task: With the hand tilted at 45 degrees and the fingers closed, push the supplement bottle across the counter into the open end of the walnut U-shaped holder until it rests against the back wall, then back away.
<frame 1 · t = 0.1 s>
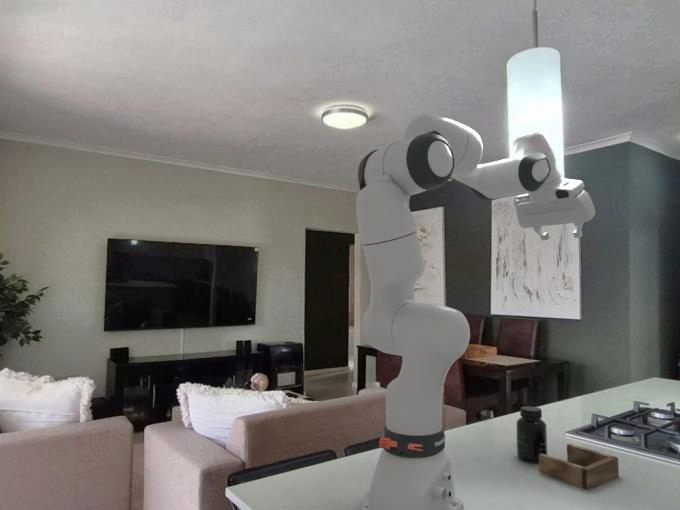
hand: (561, 238, 132), 54 cm above the counter, tool tilted 30°, fingers open, 8 cm apart
walnut holder: (580, 474, 108), on the counter
supplement bottle: (532, 459, 118), on the counter
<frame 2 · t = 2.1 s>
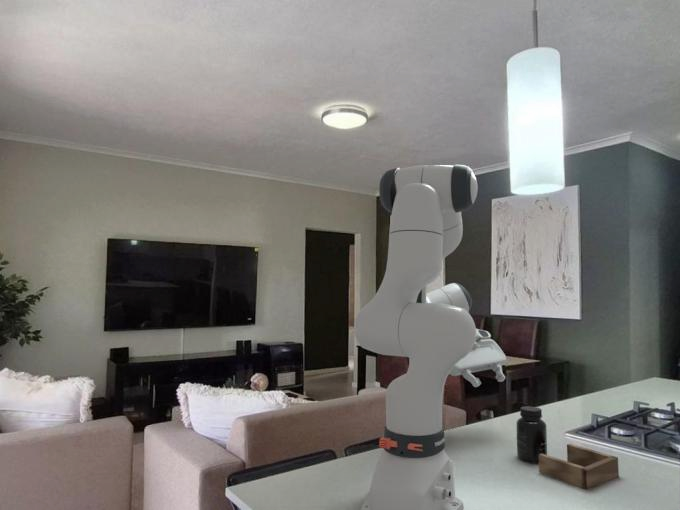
hand: (490, 382, 130), 16 cm above the counter, tool tilted 45°, fingers open, 8 cm apart
nothing on the counter moved.
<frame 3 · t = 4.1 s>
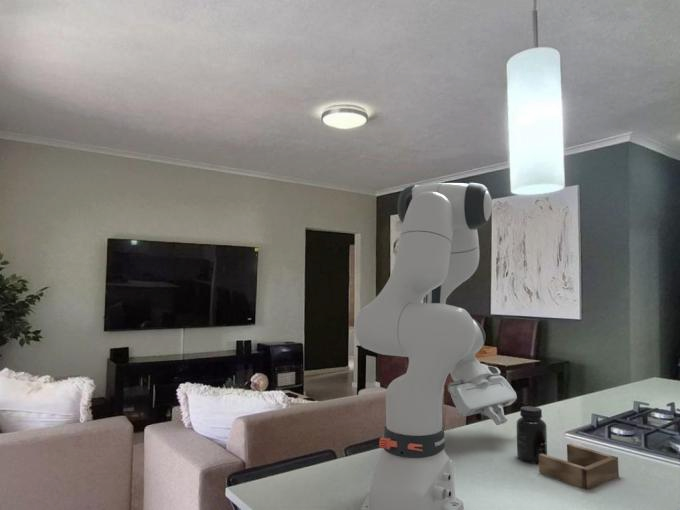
hand: (502, 423, 126), 6 cm above the counter, tool tilted 45°, fingers closed
nothing on the counter moved.
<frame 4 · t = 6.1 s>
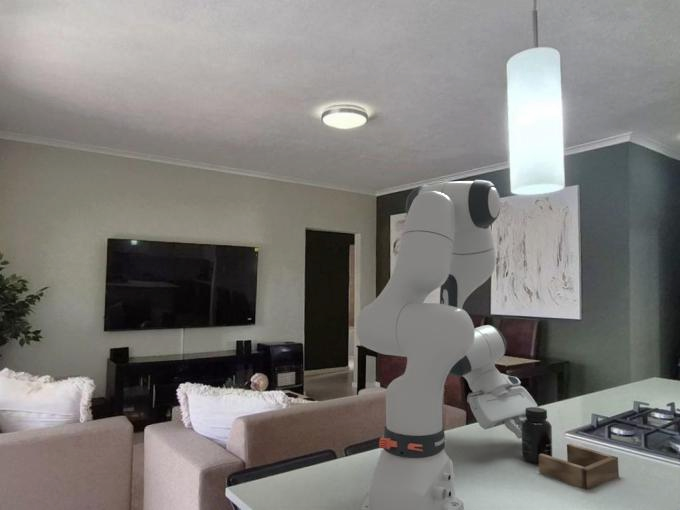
hand: (524, 436, 120), 5 cm above the counter, tool tilted 45°, fingers closed
supplement bottle: (537, 460, 117), on the counter, touching gripper
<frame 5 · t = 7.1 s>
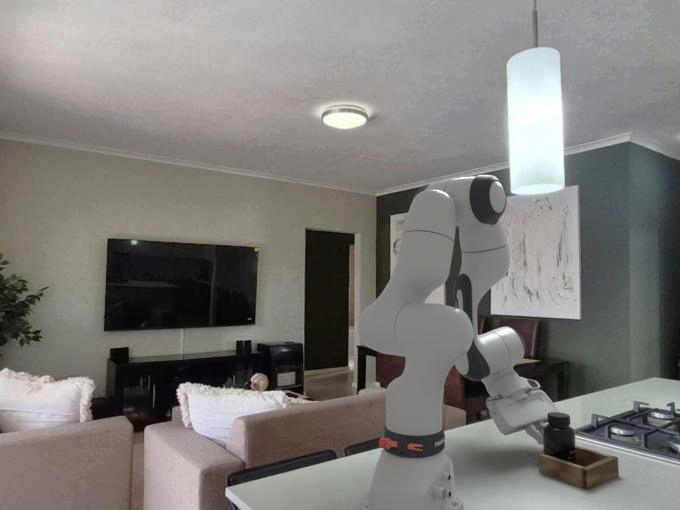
hand: (546, 442, 116), 5 cm above the counter, tool tilted 45°, fingers closed
supplement bottle: (559, 468, 113), on the counter, touching gripper
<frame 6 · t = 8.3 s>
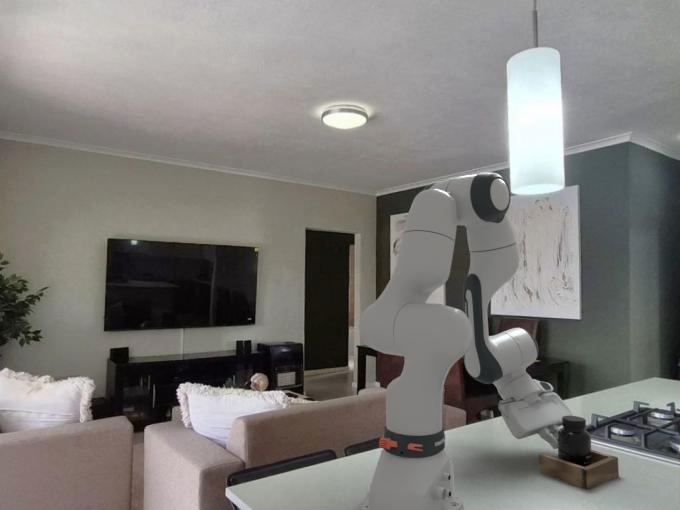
hand: (560, 446, 112), 5 cm above the counter, tool tilted 45°, fingers closed
supplement bottle: (574, 473, 110), on the counter, touching gripper
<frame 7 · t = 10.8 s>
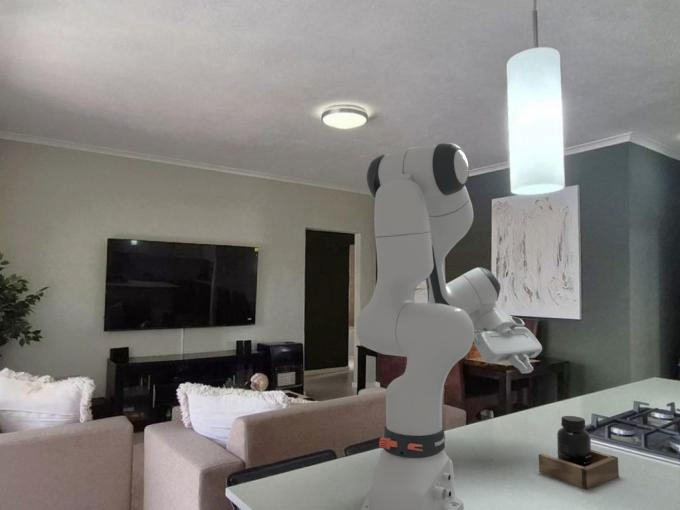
hand: (528, 371, 119), 21 cm above the counter, tool tilted 45°, fingers closed
supplement bottle: (574, 473, 110), on the counter
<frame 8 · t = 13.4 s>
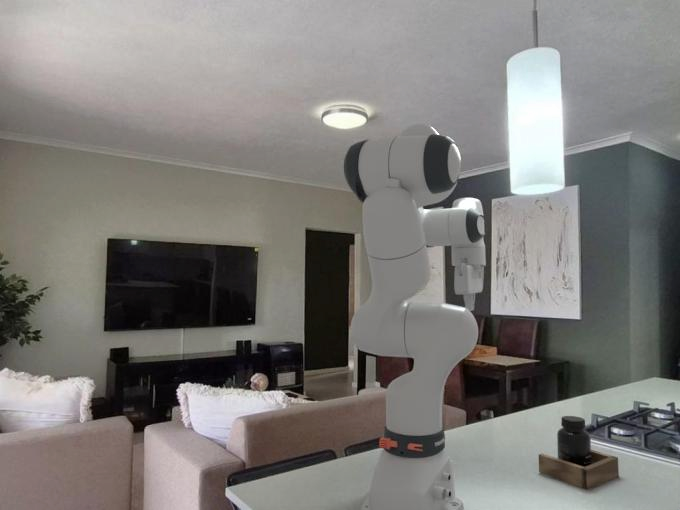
hand: (469, 310, 131), 35 cm above the counter, tool pointing down, fingers closed
nothing on the counter moved.
at the end: supplement bottle inside the target area on the walnut holder (1.4 cm from its centre), point 0.0 cm above the walnut holder's base; supplement bottle tilted 0°; the gripper is holding nothing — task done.
